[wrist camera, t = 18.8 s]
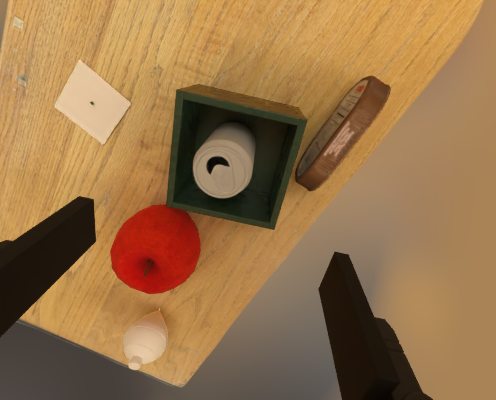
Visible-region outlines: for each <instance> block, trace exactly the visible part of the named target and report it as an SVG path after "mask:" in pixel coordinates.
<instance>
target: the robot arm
mask: <svg viewBox="0 0 496 400" xmlns="http://www.w3.org/2000/svg"><path fill="white" fill-rule="evenodd" d="M95 242H96V234H95V216H94V199H90V198H85V197H80V196H79V197H77V198H76V199H74V200H73V201H71V202H70V203H69V204H67V205H66V206H64V207H63V208H61V209H60V210H58V211H57V212H55V213H54V214H52V215H51V216H49V217H48V218H46V219H45V220H43V221H42V222H40V223H39V224H38V225H36V226H35V227H33V228H32V229H30V230H29V231H27V232H26V233H24V234H23V235H21V236H20V237H18V238H17V239H15V240H14V241H9V240H5V241H3V242H0V337H1V336H2V335H3V334H4V333H5V332H6V331H7V330H8V329H9V328H10V327H11V326H12V325H13V324H14V323H15V322H16V321H17V320H18V319H19V318H20V317H21V316H22V315H23V314H24V313H25V312H26V311H27V310H28V309H29V308H30V307H31V306H32V305H33V304H34V303H35V302H36V301H37V300H38V299H39V298H40V297H41V296H42V295H43V294H44V293H45V292H46V291H47V290H48V289H49V288H50V287H51V286H52V285H53V284H54V283H55V282H56V281H57V280H58V279H59V278H60V277H61V276H62V275H63V274H64V273H65V272H66V271H67V270H68V269H69V268H70V267H71V266H72V265H73V264H74V263H75V262H76V261H77V260H78V259H79V258H80V257H81V256H82V255H83V254H84V253H85V252H86V251H87V250H88V249H89V248H90V247H91V246H92V245H93V244H94V243H95ZM319 293H320V298H321V303H322V307H323V312H324V317H325V322H326V326H327V331H328V336H329V340H330V345H331V349H332V354H333V359H334V364H335V369H336V373H337V378H338V382H339V387H340V392H341V396H342V400H433V399H432V398H431V397H429V396H427V395H426V394H424V393H423V392H422V390H421V388H420V386H419V383H418V381H417V379H416V377H415V375H414V373H413V370H412V368H411V366H410V364H409V362H408V360H407V358H406V356H405V354H404V353H403V352H404V351H403V349H402V347H401V345H400V344H399V340H398V338H397V336H396V334H395V332H394V330H393V329H392V328H391V326H390V325H389V324H388V323H387V322H386V320H385V319H381V318H376V317H374V315H373V313H372V311H371V308H370V306H369V303H368V301H367V298H366V296H365V294H364V291H363V289H362V286H361V284H360V281H359V279H358V277H357V274H356V272H355V269H354V267H353V264H352V262H351V260H350V257H349V255H348V254H343V253H338V252H334V255H333V257H332V259H331V261H330V264H329V266H328V268H327V271H326V273H325V275H324V278H323V280H322V282H321V284H320V287H319Z"/></svg>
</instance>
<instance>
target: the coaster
mask: <svg viewBox="0 0 496 400" xmlns="http://www.w3.org/2000/svg"><path fill="white" fill-rule="evenodd" d="M130 105H131V103H130V102H129V101H128V100H127V99H126V98H125V97H123V96H122V95H121V94H120V93H119V92H117V91H116V90H115V89H114V88H113V87H112V86H110V85H109V84H108V83H107V82H106V81H105V80H103V79H102V78H101V77H100V76H99V75H98V74H96V73H95V72H94V71H93V70H92V69H91V68H89V67H88V66H87V65H86V64H85V63H83V62H82V61H81V60H80V59H79V61H78V63H77V65H76V67H75V68H74V70H73V72H72V74H71V76H70V78H69V79H68V81H67V83H66V85H65V87H64V89H63V90H62V92H61V94H60V96H59V98H58V100H57V101H56V103H55V105H54V107H55V108H57V109H58V110H59V111H60V112H62V113H63V114H64V115H65V116H67V117H68V118H69V119H71V120H72V121H73V122H74V123H76V124H77V125H78V126H80V127H81V128H82V129H83V130H85V131H86V132H87V133H88V134H90V135H91V136H92V137H94V138H95V139H96V140H97V141H99V142H100V143H101V144H103V145H104V143H105V142H106V140H107V139H108V137H109V136H110V134H111V133H112V131H113V130H114V128H115V127H116V125H117V124H118V123H119V121H120V120H121V118H122V117H123V115H124V114H125V112H126V111H127V109H128V108H129V106H130Z"/></svg>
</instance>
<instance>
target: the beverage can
mask: <svg viewBox="0 0 496 400" xmlns="http://www.w3.org/2000/svg"><path fill="white" fill-rule="evenodd" d="M255 151H256V141H255V137H254V135H253V133H252V132H251V130H250V129H249V128H248V127H247V126H245V125H243V124H241V123H238V122H226V123H223V124H221V125H220V126H218V127H217V128H216V129H215V130H214V132H213V133H212V134H211V135H210V136H209V138H208V139H207V140H206V141H205V142H204V144H203V145H202V146H201V147H200V149H199V150H198V151H197V153H196V155H195V157H194V160H193V172H194V178H195V181H196V183H197V184H198V186H199V187H200V188H201V189H202V190H203V191H204V192H205V193H207V194H208V195H210V196H213V197H216V198H229V197H232V196H235V195H236V194H238V193H239V192H241V191H242V190H243V189H244V188H245V187H246V186H247V185H248V183H249V182H250V179H251V176H252V171H253V164H254V157H255Z"/></svg>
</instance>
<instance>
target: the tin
mask: <svg viewBox="0 0 496 400" xmlns="http://www.w3.org/2000/svg"><path fill="white" fill-rule="evenodd" d="M389 94H390V86H389V85H387V84H384V83H383V82H381V81H380V80H379V79H377V78H376V77H374V76H368V77H365V78H363V79H361V80H360V81H359V82H358V83H357V84H356V85H355V86H354V87H353V88H352V89H351V90H350V91H349V92H348V93H347V95H346V96H345V97H344V98H343V100H342V101H341V102H340V104H339V105H338V107H337V108H336V109H335V111H334V112H333V113H332V115H331V116H330V118H329V119H328V120H327V122H326V123H325V124H324V126H323V127H322V129H321V130H320V131H319V133H318V134H317V136H316V137H315V138H314V140H313V141H312V143H311V144H310V146H309V147H308V148H307V150H306V152H305V153H304V155H303V156H302V158H301V160H300V162H299V164H298V166H297V168H296V172H295V180H296V182H297V183H299V184H300V185H302V186H304V187H305V188H307V190H309V191H314V190H316V189H317V188H319V187H320V186H321V185H322V184H323V183H324V182H325V181H326V180H327V179H328V178H329V177H330V176H331V174H332V173H333V172H334V171H335V169H336V168H337V167H338V166H339V164H340V163H341V162H342V161H343V159H344V158H345V157H346V155H347V154H348V153H349V152H350V150H351V149H352V148H353V147H354V145H355V144H356V143H357V142H358V140H359V139H360V138H361V137H362V136H363V134H364V133H365V132H366V130H367V129H368V128H369V127H370V126H371V124H372V123H373V122H374V121H375V119H376V118H377V117H378V115H379V114H380V112H381V110H382V109H383V107H384V105H385V103H386V102H387V99H388V97H389Z"/></svg>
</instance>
